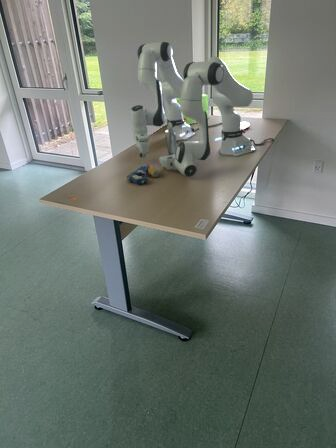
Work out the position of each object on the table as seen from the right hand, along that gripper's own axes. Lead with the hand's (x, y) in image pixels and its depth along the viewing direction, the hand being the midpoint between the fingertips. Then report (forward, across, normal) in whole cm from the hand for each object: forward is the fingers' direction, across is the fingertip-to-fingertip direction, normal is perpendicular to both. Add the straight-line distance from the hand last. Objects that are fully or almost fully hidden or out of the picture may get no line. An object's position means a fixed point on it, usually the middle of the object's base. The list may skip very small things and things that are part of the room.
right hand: (172, 154), depth 203 cm
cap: (+9, +16, 0) cm, 18 cm away
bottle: (-1, 0, +5) cm, 5 cm away
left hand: (+9, +16, +1) cm, 18 cm away
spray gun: (-14, +22, +5) cm, 26 cm away
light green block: (+88, -47, +5) cm, 100 cm away
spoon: (+35, -66, +5) cm, 75 cm away
